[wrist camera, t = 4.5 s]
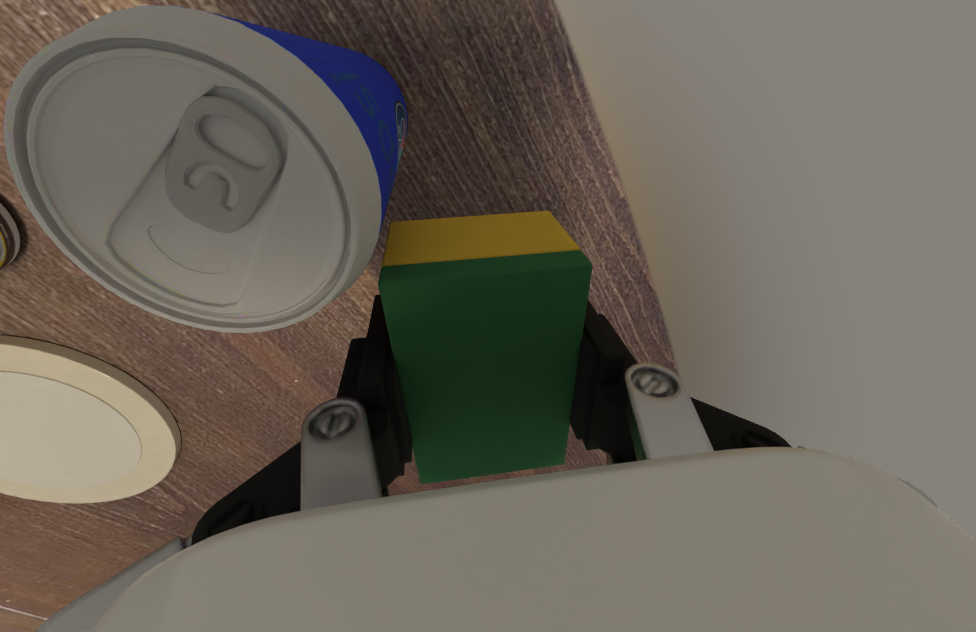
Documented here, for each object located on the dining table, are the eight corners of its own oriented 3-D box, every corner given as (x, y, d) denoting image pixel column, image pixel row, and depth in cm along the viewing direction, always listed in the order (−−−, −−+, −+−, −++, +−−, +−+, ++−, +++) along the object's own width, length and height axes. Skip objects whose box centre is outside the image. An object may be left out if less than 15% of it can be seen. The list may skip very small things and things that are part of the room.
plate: (-194, 348, 21) (-217, 359, 20) (110, 321, 22) (99, 330, 21) (4, 506, 29) (-7, 518, 28) (216, 478, 30) (210, 489, 30)
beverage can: (373, 191, 20) (291, 385, 8) (275, 123, 18) (-56, 245, 6) (429, 105, 19) (438, 180, 6) (329, 19, 16) (18, -144, 4)
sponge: (389, 221, 10) (376, 282, 8) (549, 209, 11) (594, 264, 8) (420, 400, 14) (420, 485, 12) (537, 386, 15) (564, 465, 12)
